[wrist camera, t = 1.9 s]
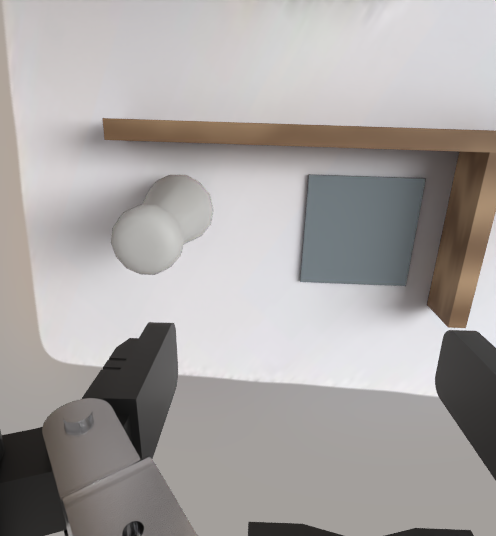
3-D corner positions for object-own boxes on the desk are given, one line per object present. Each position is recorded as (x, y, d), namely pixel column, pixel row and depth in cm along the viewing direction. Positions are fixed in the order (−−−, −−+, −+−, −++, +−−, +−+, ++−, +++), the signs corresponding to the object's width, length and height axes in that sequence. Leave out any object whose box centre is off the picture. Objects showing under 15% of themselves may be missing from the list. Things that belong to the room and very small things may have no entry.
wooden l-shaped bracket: (123, 119, 32) (102, 118, 28) (482, 130, 32) (516, 131, 27) (136, 292, 38) (121, 313, 34) (442, 305, 37) (465, 327, 33)
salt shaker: (177, 157, 33) (128, 174, 21) (229, 199, 34) (211, 238, 22) (140, 208, 35) (75, 252, 23) (190, 247, 36) (154, 308, 24)
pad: (308, 174, 33) (309, 174, 33) (424, 178, 33) (425, 178, 33) (300, 280, 37) (300, 281, 36) (404, 284, 37) (405, 285, 36)
